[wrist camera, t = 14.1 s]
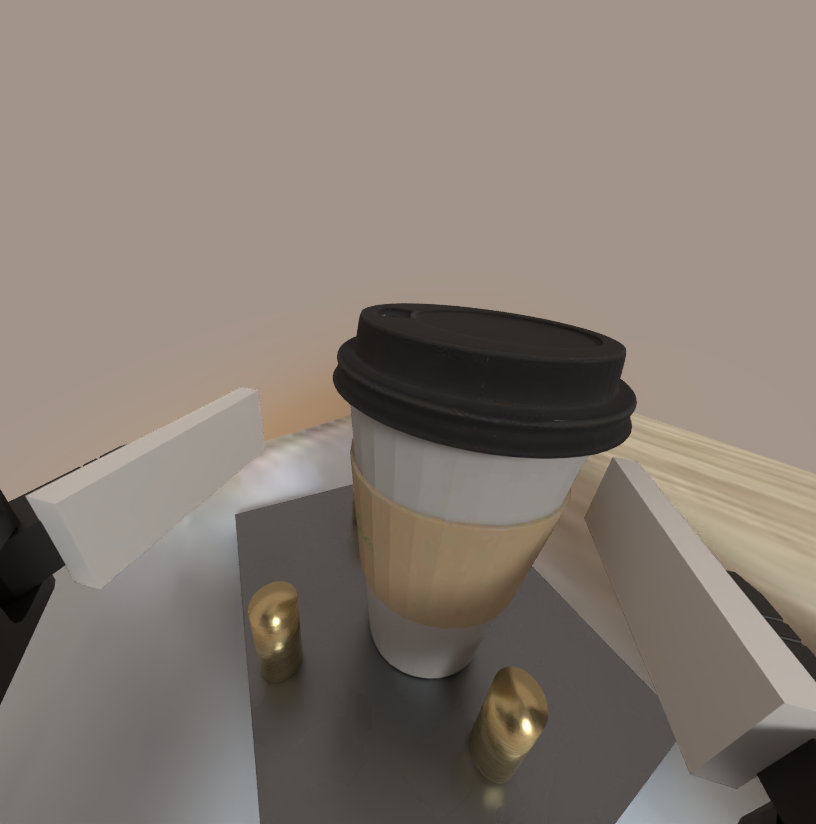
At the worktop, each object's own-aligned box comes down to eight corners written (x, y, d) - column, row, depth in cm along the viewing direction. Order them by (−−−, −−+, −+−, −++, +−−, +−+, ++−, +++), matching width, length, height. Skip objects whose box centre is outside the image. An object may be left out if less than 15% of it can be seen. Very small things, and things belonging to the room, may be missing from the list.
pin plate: (670, 741, 14) (740, 678, 12) (299, 1234, 6) (277, 1350, 4) (430, 477, 29) (439, 425, 27) (238, 530, 22) (225, 466, 19)
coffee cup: (319, 565, 18) (309, 294, 12) (455, 527, 22) (504, 306, 16) (365, 795, 11) (411, 381, 4) (562, 675, 14) (744, 362, 8)
